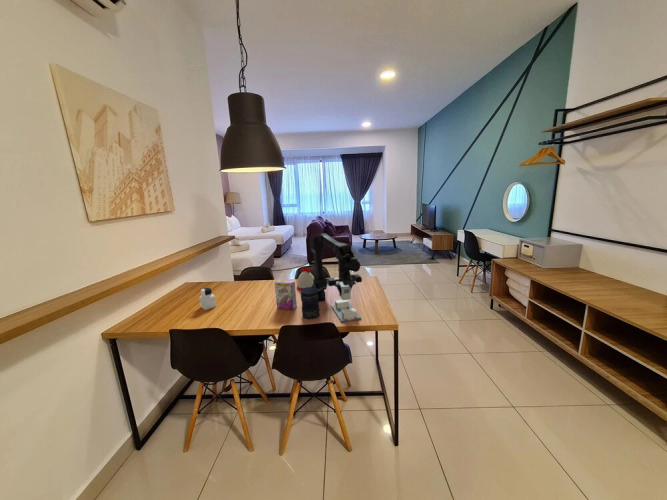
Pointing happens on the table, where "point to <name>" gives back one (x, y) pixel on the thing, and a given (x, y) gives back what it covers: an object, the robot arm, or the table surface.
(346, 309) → the board
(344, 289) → the block
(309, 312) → the storage jar
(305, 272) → the kitchen timer
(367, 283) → the table surface
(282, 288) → the candy bar box
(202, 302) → the medicine bottle
